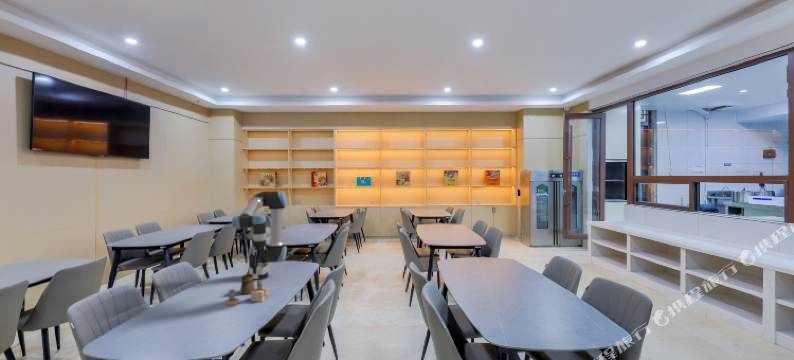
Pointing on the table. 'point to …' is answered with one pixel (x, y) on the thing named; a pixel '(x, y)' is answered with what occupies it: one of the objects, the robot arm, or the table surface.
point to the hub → (231, 299)
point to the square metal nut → (261, 268)
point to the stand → (259, 293)
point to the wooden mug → (247, 284)
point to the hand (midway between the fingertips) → (259, 275)
